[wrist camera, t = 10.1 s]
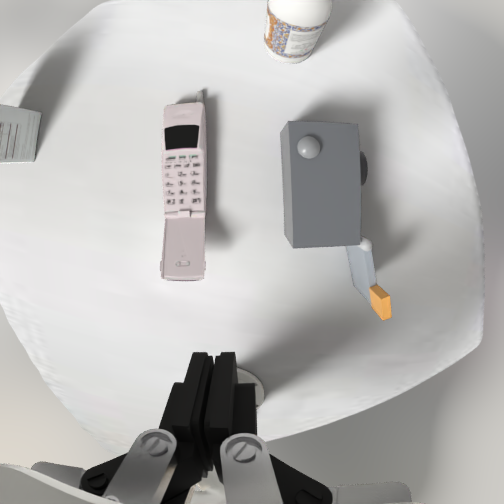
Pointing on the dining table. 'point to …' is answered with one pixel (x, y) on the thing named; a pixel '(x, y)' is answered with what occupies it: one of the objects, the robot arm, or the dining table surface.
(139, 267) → the dining table surface
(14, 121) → the supplement box
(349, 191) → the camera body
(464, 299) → the dining table surface
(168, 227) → the mobile phone
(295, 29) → the bath foam
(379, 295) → the side door
